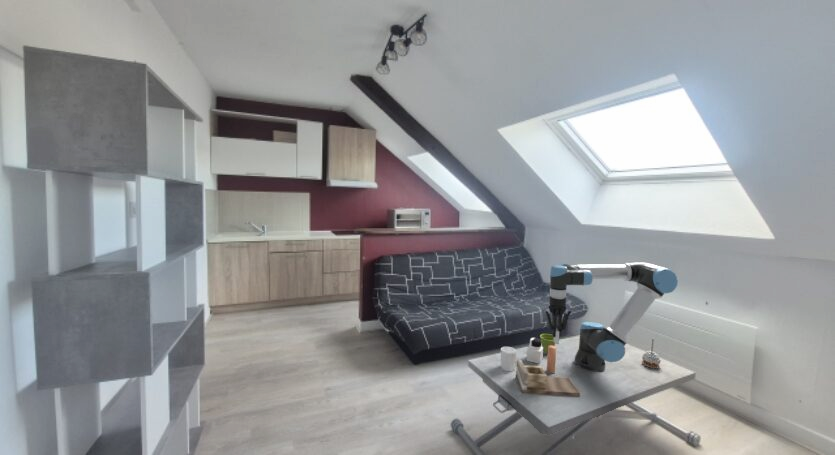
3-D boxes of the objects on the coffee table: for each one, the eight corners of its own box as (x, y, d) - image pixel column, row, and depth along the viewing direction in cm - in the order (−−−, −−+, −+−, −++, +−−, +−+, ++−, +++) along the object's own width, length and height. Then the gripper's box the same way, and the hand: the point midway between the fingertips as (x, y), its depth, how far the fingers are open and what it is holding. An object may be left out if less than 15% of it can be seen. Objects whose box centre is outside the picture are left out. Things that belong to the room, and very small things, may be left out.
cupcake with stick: (662, 367, 185) (665, 340, 183) (653, 370, 181) (656, 343, 180) (647, 361, 192) (649, 335, 190) (639, 363, 188) (641, 337, 187)
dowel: (553, 369, 179) (554, 345, 178) (556, 373, 175) (557, 349, 174) (545, 369, 179) (547, 345, 178) (548, 373, 175) (549, 348, 174)
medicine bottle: (542, 359, 190) (543, 338, 189) (539, 364, 184) (540, 343, 183) (529, 355, 194) (530, 335, 193) (526, 360, 188) (527, 339, 187)
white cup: (515, 372, 175) (517, 354, 174) (500, 370, 176) (501, 352, 175) (514, 365, 182) (515, 347, 181) (499, 363, 184) (500, 345, 183)
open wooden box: (540, 378, 167) (541, 366, 166) (546, 388, 158) (546, 375, 157) (521, 376, 167) (522, 365, 167) (526, 387, 158) (527, 374, 158)
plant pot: (554, 356, 194) (555, 341, 193) (537, 352, 199) (538, 337, 198) (557, 350, 202) (558, 336, 201) (541, 346, 207) (542, 332, 206)
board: (568, 380, 168) (570, 362, 167) (579, 396, 155) (581, 376, 154) (515, 377, 170) (516, 359, 169) (521, 392, 157) (523, 373, 156)
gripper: (567, 294, 172) (565, 339, 174) (541, 294, 172) (540, 339, 174) (574, 299, 164) (572, 346, 166) (547, 299, 164) (546, 346, 166)
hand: (556, 342), depth 170 cm, fingers closed
